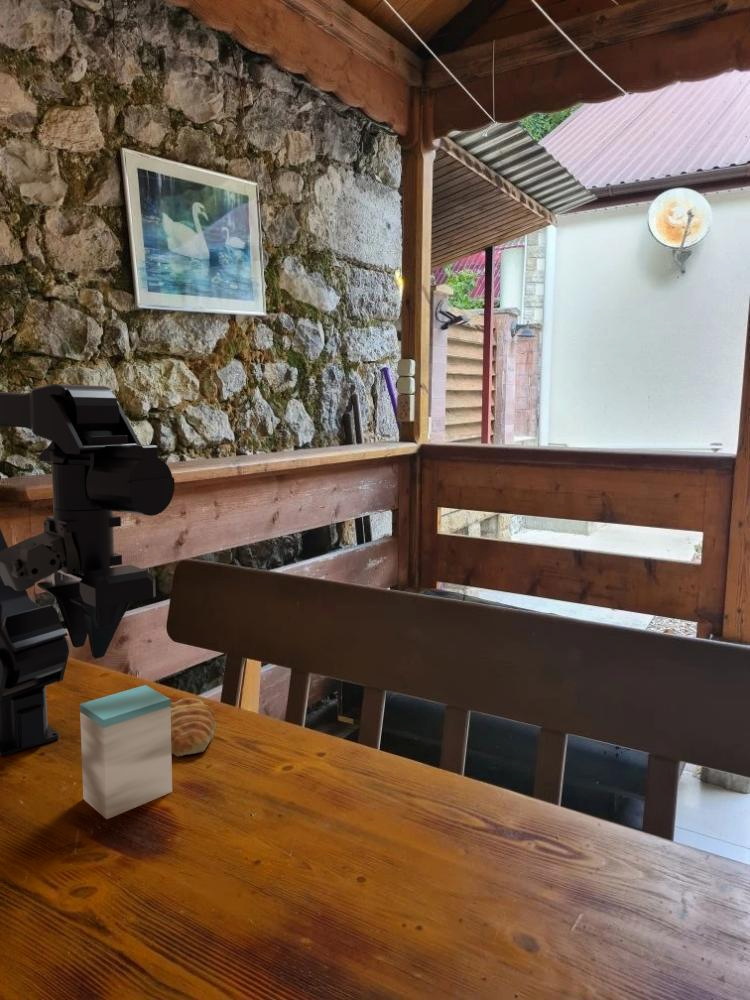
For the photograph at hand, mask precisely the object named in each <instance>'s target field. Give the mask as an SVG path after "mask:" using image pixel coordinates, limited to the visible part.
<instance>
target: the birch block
mask: <svg viewBox="0 0 750 1000" xmlns="http://www.w3.org/2000/svg"><path fill="white" fill-rule="evenodd" d="M170 704H171V698H170V697H168V696H166V695H164V694H162V693H160V692H159V691H157V690H155V689H154V688H152V687H150V686H148V685H146V684H144V685H140V686H137V687H134V688H130V689H127V690H123V691H120V692H117V693H113V694H109V695H106V696H101V697H99V698H95V699H93V700H88V701H86V702H81V703H80V704H79V715H80V716H79V717H80V718H79V719H80V740H81V741H80V743H81V744H80V747H81V749H80V750H81V769H82V770H81V772H82V798H83V800H84V802H86V803H87V804H89V806H91V808H93V809H94V810H95V811H96V812H98V814H100V815H101V816H102V817H103V818H104V819H106V820H109V819H111V818H113V817H116V816H119V815H121V814H123V813H125V812H127V811H131V810H133V809H135V808H138V807H140V806H142V805H144V804H147V803H149V802H151V801H154V800H157V799H159V798H162V797H163V796H166V795H168V794H170V793H173V771H172V770H173V769H172V768H173V766H172V764H173V763H172V761H173V759H172V757H173V756H172V755H173V754H172V753H171V707H170Z"/></svg>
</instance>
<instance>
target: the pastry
mask: <svg viewBox="0 0 750 1000" xmlns="http://www.w3.org/2000/svg"><path fill="white" fill-rule="evenodd" d="M170 707H171V755H174V756H175V757H183V756H185V755H192V754H197V753H198V754H199V753H203V752H204V751H205V750H206V749H207V747H208V746H209V744H210V743H211V742H213V739H214V735H215V732H216V730H217V724H216V721H215V711H214V710H213V708H211V707H210V706H209V705H208V704H205V703H204V702H203V701H202V700H201V699H199V698H195V697H194V698H193V697H184V698H181V699H178V700H177V701H175V702H170Z"/></svg>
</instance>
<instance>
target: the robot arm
mask: <svg viewBox="0 0 750 1000" xmlns="http://www.w3.org/2000/svg"><path fill="white" fill-rule="evenodd" d="M1 426H4V427H14V428H25V429H28V430H30V431H31V432H32V434H33V435H35V436H37V437H40V438H42V439H44V440H47V441H51V442H50V443H49V445H48V446H47V447H46V448H45V449H43V450H42V451H41V452H40V453H39V455H38V460H39V462H44V463H51V485H52V505H53V506H52V507H53V508H52V509H53V510H52V511H53V515H50V516H46V517H45V520H44V521H43V532H42V533H40V534H37V535H35V536H31V537H28V538H27V539H24V540H22V541H20V542H18V543H17V542H16V544H15V543H14V544H13V545H11V546H9V545H8V542H7V540H6V538H5V535H4V533H3V531H2V529H1V527H0V756H3V757H5V756H8V755H11V754H14V753H18V752H21V751H24V750H26V749H29V748H34V747H37V746H39V745H43V744H45V743H49V742H52V741H56V740H58V739H60V733H59V732H58V731H57V730H55V729H54V728H53V727H51V725H49V724H48V708H47V707H48V704H47V687H48V686H49V685H52V684H56V683H60V682H62V681H63V680H64V676H65V671H66V669H67V664H68V659H69V655H70V643H71V645H72V646H73V647H74V648H82V647H83V646H85V643H86V641H87V637H88V642H89V646H90V652H91V656H92V658H93V659H101V658H103V657H104V656H105V655H106V653H107V651H108V649H109V646H110V645H111V642H112V641H113V638H114V636H115V633H116V632H117V629H118V627H119V626H120V623H121V621H122V619H123V618H124V616H125V614H126V612H127V610H128V609H129V607H130V605H131V603H134V602H139V601H144V600H148V599H154V598H155V597H156V577H155V576H154V575H152V573H150V572H149V571H148V570H147V569H143V568H140V567H139V566H135V565H132V564H126V565H123V555H122V554H119V553H117V552H115V540H114V528H115V527H116V528H117V527H121V526H122V517H121V516H120V515H115V514H114V512H119V513H124V514H125V513H128V514H134V515H141V516H150V517H151V516H152V517H153V516H156V515H159V514H161V513H163V512H164V511H166V509H167V508H168V506H169V505H170V504H171V501H172V499H173V497H174V492H175V488H176V486H175V485H176V484H175V483H176V482H175V477H173V474H172V471H171V469H170V467H169V465H168V464H167V463H166V462H165V461H164V460H162V458H160V457H159V447H158V445H155V444H143V445H142V443H141V441H140V440H139V437H138V434H137V433H136V431H135V430H134V429H133V427H132V425H131V423H130V421H129V419H128V418H127V416H126V414H125V412H124V409H123V408H122V406H121V404H120V403H119V402H118V399H117V397H116V395H114V391H113V389H111V388H110V387H108V386H105V385H90V384H89V385H88V384H87V385H85V384H61V383H60V384H59V383H52V384H47V385H43V386H38V387H35V388H33V389H31V391H30V392H26V393H25V392H3V391H0V427H1ZM43 579H44V581H41V580H43ZM40 581H41V582H40ZM36 583H37V584H36ZM35 584H36V585H37V586H38V587H39V588H40V589H41V590H43V591H45V592H46V593H48V594H49V595H50V596H51V597H53V598H54V599H55V600H56V603H57V605H58V608H59V610H60V613H61V616H62V619H63V622H64V625H65V627H66V630H65V628H64V627H63V624H62V623H61V620H60V618H59V614H58V611H57V609H56V608H55V607H54V605H52V604H46V605H43V606H41V605H39V604H38V603H37V602H35V601H34V600H32V598H31V596H30V595H29V593H28V589H30V588H32V587H34V586H35ZM67 636H69V639H70V642H69V641H68V639H67Z"/></svg>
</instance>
